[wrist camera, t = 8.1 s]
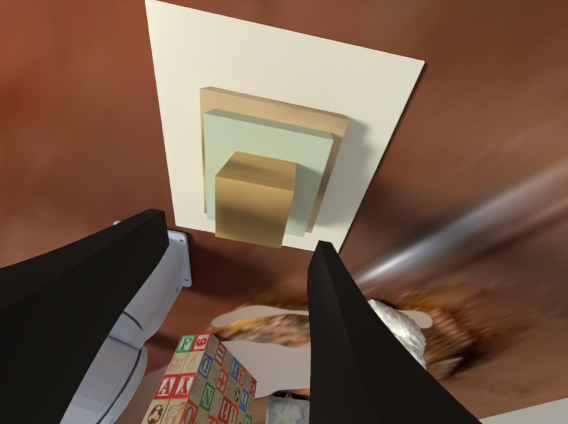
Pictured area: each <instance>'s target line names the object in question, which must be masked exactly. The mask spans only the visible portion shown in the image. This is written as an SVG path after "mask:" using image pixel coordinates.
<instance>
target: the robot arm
mask: <svg viewBox="0 0 568 424" xmlns="http://www.w3.org/2000/svg"><path fill="white" fill-rule="evenodd" d="M191 284H192V280H191V270H190V261H189V251H188V242H187V235H186V234H185V233H182V232H177V231H171V230H167V224H166V218H165V213H164V211H161V210H156V209H148V210H146V211H143V212H141V213H139V214H137V215H134V216H132V217H130V218H128V219H126V220H123V221H116V222H115V223H114V225H112V226H110V227H108V228H106V229H104V230H101V231H99V232H97V233H95V234H92V235H90V236H87V237H85V238H83V239H80V240H78V241H75V242H73V243H71V244H68V245H66V246H63V247H61V248H58V249H56V250H53V251H50V252H48V253H45V254H42V255H39V256H36V257H34V258H31V259H28V260H25V261H22V262H19V263H16V264H13V265H10V266H7V267H3V268H0V424H113V423H114V422H115V421H116V420H117V418H118V417H119V416H120V414H121V413H122V411H123V410H124V409H125V407H126V406H127V404H128V403H129V401H130V399H131V398H132V396H133V395H134V393H135V391H136V389H137V388H138V386H139V383H140V381H141V379H142V377H143V375H144V372H145V369H146V365H147V349H146V348H145V347H143V344H144V342H145V341H146V340H147V339H149V338H150V337H151V336H153V335H154V334H155V333H156V332H157V330H158V329H159V328H160V326H161V325H162V323H163V321H164V319H165V318H166V316H167V314H168V312H169V310H170V309H171V307H172V305H173V303H174V301H175V300H176V298H177V296H178V294H179V292H180V291H181V289H182V287H183V286H186V287H190V286H191ZM307 295H308V309H309V323H310V337H311V378H310V407H309V424H482V423H481V422H480V421H479V420H478V419H477V418H476V417H474V416H473V415H472V414H471V413H470V412H469V411H468V410H467V409H466V408H465V407H464V406H463V405H462V404H460V403H459V402H458V401H457V400H456V399H455V398H454V397H453V396H452V395H451V394H450V393H449V392H448V391H447V390H446V389H445V388H444V387H443V386H442V385H441V384H440V383H439V382H438V381H437V380H436V379H435V378H434V377H433V376H432V375H431V374H430V373H429V372H428V371H427V370H426V369H425V368H424V367H423V366H422V365H421V364H420V363H419V362H418V361H417V360H416V359H415V358H414V357H413V356H412V355H411V353H410V352H409V351H408V350H407V349H406V348H405V347H404V346H403V345H402V343H401V342H400V341H399V340H398V339H397V338H396V337H395V335H394V334H393V333H392V332H391V331H390V330H389V328H388V327H387V326H386V325H385V323H384V322H383V321H382V320H381V318H380V317H379V316H378V315H377V313H376V312H375V311H374V309H373V308H372V307H371V305H370V304H369V303H368V301H367V300H366V298H365V297H364V295H363V294H362V293H361V291H360V290H359V288H358V286H357V285H356V283H355V282H354V280H353V279H352V277H351V275H350V274H349V272H348V270H347V269H346V267H345V265H344V264H343V262H342V260H341V258H340V257H339V255H338V253H337V251H336V249H335V248H334V246H333V244H332V243H331V242H327V241H322V240H318V243H317V246H316V248H315V251H314V254H313V257H312V259H311V262H310V265H309V268H308V279H307Z"/></svg>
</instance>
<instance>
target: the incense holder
mask: <svg viewBox="0 0 568 424" xmlns="http://www.w3.org/2000/svg"><path fill="white" fill-rule="evenodd" d="M309 407H310V402H309V401H307V400H298V399H293V398H292V397H291V395H290V393H287V394H286V396H285V398H282V397H276V396H269V397H268V404H267V416H266V424H309Z"/></svg>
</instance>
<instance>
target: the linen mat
mask: <svg viewBox="0 0 568 424" xmlns="http://www.w3.org/2000/svg"><path fill="white" fill-rule="evenodd" d="M145 4H146V12H147V19H148V26H149V33H150V40H151V48H152V55H153V62H154V69H155V77H156V84H157V91H158V98H159V106H160V113H161V120H162V127H163V135H164V142H165V149H166V156H167V163H168V171H169V178H170V185H171V192H172V200H173V207H174V214H175V221H176V226H181V227H187V228H192V229H197V230H203V231H208V232H214V233H215V221H214V220H209V219H207V213H204V189H203V163H202V138H201V113H200V88H204V87H210V86H211V87H216V88H221V89H225V90H230V91H235V92H240V93H244V94H249V95H254V96H258V97H263V98H268V99H272V100H277V101H282V102H287V103H291V104H296V105H301V106H305V107H310V108H315V109H320V110H324V111H329V112H334V113H338V114H343V115H345V116H346V117H347V118H348V119H349V122H348V125H347V128H346V131H345V134H344V137H343V140H342V143H341V146H340V149H339V152H338V155H337V158H336V161H335V164H334V167H333V170H332V173H331V176H330V179H329V182H328V185H327V188H326V191H325V194H324V197H323V200H322V203H321V206H320V209H319V212H318V215H317V218H316V221H315V224H314V227H313V230H312V233H308V232H305V234H304V237H300V236H294V235H289V234H284V237H283V241H282V245H284V246H289V247H295V248H300V249H306V250H311V251H315V248H316V246H317V243H318V240H322V241H327V242H331V243H332V244H333V246H334V248H335V249H336V251H337V253H338V252H339V249H340V247H341V245H342V243H343V241H344V238H345V236H346V234H347V232H348V230H349V227H350V225H351V223H352V221H353V219H354V216H355V214H356V212H357V210H358V208H359V205H360V203H361V201H362V199H363V197H364V194H365V192H366V190H367V188H368V186H369V183H370V181H371V179H372V177H373V175H374V172H375V170H376V168H377V166H378V164H379V161H380V159H381V157H382V155H383V153H384V150H385V148H386V146H387V144H388V142H389V140H390V137H391V135H392V133H393V131H394V129H395V126H396V124H397V122H398V120H399V118H400V115H401V113H402V111H403V109H404V107H405V104H406V102H407V100H408V98H409V96H410V93H411V91H412V89H413V87H414V85H415V82H416V80H417V78H418V76H419V74H420V71H421V69H422V67H423V65H424V63H425V61H421V60H416V59H412V58H407V57H403V56H399V55H394V54H390V53H385V52H381V51H377V50H372V49H368V48H363V47H359V46H354V45H350V44H346V43H341V42H337V41H332V40H328V39H323V38H319V37H315V36H310V35H306V34H301V33H297V32H293V31H288V30H284V29H279V28H275V27H270V26H266V25H262V24H257V23H253V22H248V21H244V20H239V19H235V18H231V17H226V16H222V15H217V14H213V13H209V12H204V11H200V10H195V9H191V8H186V7H182V6H178V5H173V4H169V3H164V2H160V1H155V0H145Z"/></svg>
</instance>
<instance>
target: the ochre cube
mask: <svg viewBox="0 0 568 424" xmlns="http://www.w3.org/2000/svg"><path fill="white" fill-rule="evenodd" d="M295 173H296V163H295V162H290V161H285V160H280V159H275V158H270V157H265V156H260V155H255V154H250V153H245V152H240V151H235V153H234V154H233V155H232V156H231V157H230V159H229V160H228V161H227V162H226V163H225V165H224V166H223V167H222V168H221V169H220V171H219V172H218V173H217V174H216V176H215V237H221V238H226V239H232V240H237V241H243V242H248V243H254V244H259V245H264V246H270V247H275V248H281V246H282V241H283V237H284V233H285V229H286V224H287V220H288V216H289V212H290V208H291V203H292V199H293V195H294V188H295Z"/></svg>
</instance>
